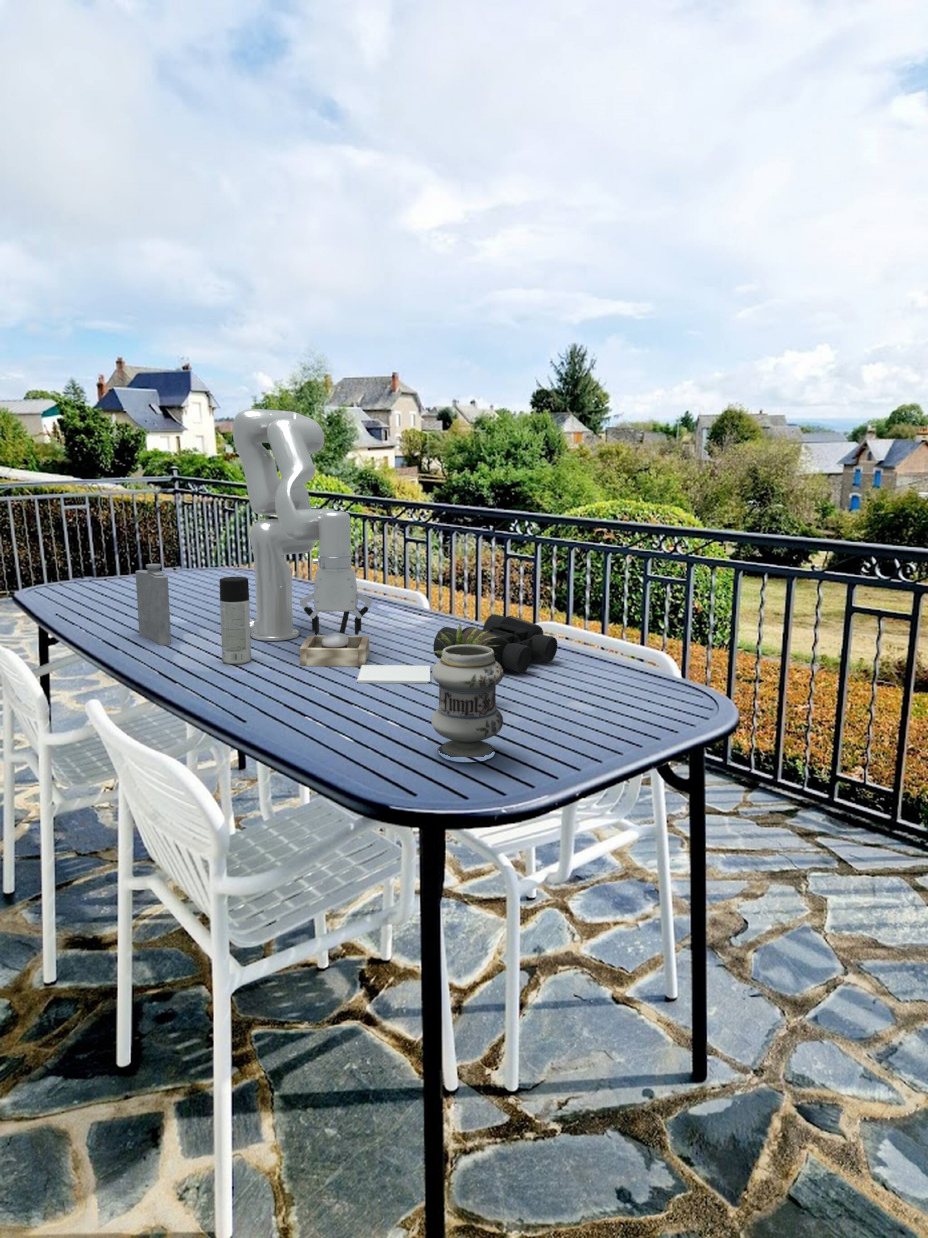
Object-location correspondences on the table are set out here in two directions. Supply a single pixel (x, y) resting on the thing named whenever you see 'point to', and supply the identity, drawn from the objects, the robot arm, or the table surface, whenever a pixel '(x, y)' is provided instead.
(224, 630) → the spray can
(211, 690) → the table surface
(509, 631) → the binoculars
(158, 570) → the hip flask
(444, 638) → the house plant
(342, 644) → the cocoa
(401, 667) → the mat
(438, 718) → the apothecary jar
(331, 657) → the holder
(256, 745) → the table surface
